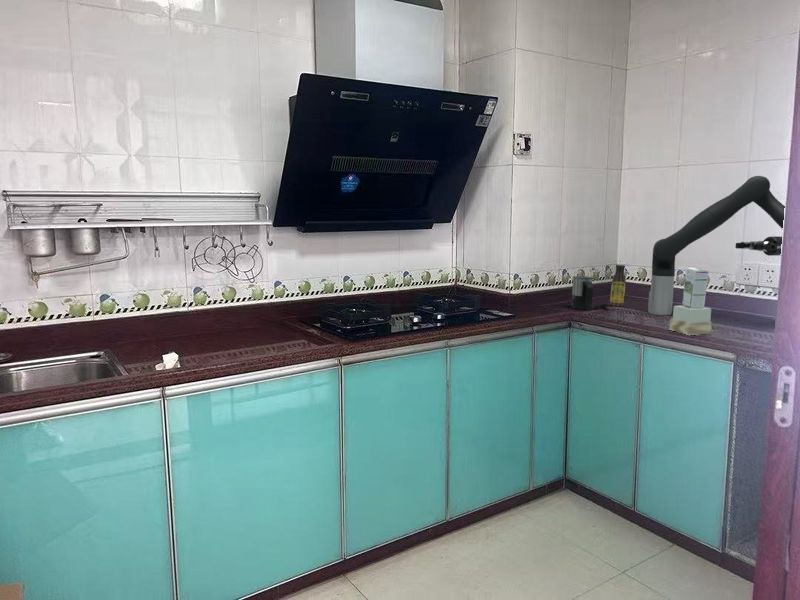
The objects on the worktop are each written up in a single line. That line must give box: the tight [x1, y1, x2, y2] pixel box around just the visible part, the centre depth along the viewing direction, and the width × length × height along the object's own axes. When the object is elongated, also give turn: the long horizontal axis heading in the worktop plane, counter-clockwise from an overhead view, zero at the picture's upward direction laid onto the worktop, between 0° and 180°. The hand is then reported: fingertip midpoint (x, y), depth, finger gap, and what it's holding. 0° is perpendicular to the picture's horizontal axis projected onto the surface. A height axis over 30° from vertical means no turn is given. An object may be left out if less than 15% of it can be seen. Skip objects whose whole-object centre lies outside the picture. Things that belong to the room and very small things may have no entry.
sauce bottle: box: [609, 264, 627, 307], centre depth 287 cm, size 7×6×20 cm
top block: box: [672, 305, 712, 323], centre depth 224 cm, size 9×9×5 cm
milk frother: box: [570, 275, 611, 310], centre depth 279 cm, size 14×16×15 cm
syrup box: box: [681, 266, 710, 308], centre depth 223 cm, size 6×6×14 cm
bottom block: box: [668, 318, 713, 337], centre depth 225 cm, size 10×10×5 cm
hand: (744, 246), depth 232 cm, fingers open, 8 cm apart
